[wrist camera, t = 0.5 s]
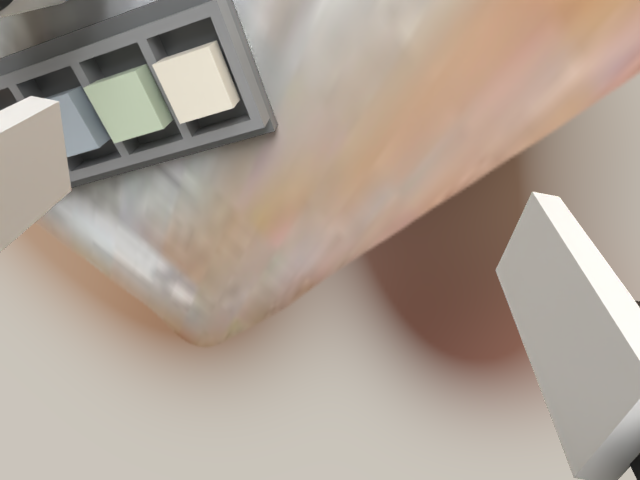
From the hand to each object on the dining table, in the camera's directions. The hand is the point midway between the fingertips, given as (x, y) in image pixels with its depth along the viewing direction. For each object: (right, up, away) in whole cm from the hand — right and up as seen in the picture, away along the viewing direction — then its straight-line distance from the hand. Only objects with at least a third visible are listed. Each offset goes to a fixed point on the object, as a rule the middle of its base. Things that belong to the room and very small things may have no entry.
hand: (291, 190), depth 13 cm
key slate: (-18, +8, +23) cm, 30 cm away
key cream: (-8, +10, +20) cm, 24 cm away
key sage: (-13, +9, +22) cm, 27 cm away
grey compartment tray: (-15, +10, +25) cm, 31 cm away
